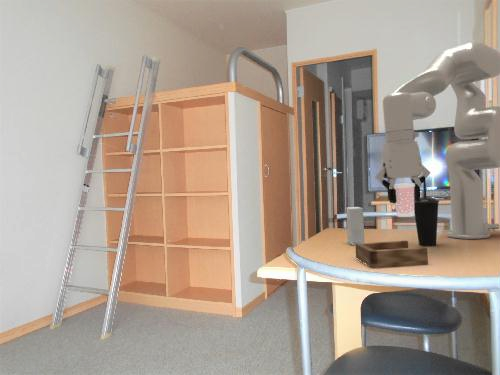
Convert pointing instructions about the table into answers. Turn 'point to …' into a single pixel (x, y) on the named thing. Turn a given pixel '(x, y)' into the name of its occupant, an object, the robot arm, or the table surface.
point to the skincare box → (355, 225)
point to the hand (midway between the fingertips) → (404, 201)
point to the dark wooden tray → (391, 254)
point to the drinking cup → (426, 219)
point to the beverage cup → (404, 199)
